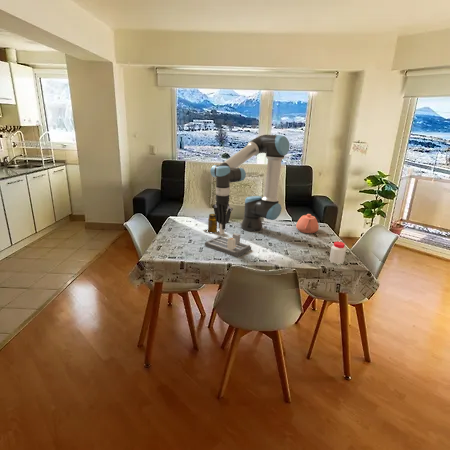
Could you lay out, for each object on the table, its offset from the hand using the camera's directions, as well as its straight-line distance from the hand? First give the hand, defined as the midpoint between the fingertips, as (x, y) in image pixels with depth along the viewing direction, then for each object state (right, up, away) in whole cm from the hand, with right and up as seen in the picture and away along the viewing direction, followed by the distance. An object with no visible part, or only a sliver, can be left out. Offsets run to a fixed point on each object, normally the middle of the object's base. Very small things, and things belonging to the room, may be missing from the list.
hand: (221, 233), depth 173 cm
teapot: (+60, 0, +39) cm, 72 cm away
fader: (+5, -8, -3) cm, 10 cm away
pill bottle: (+63, -15, -8) cm, 66 cm away
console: (+3, -8, +4) cm, 10 cm away
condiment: (-8, +1, +31) cm, 32 cm away
